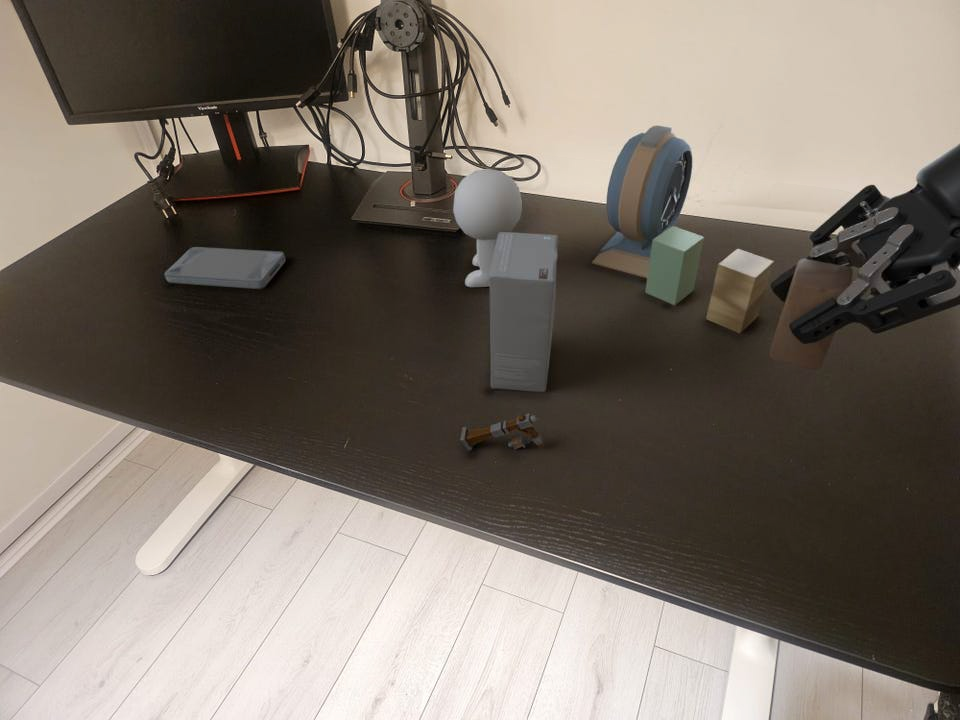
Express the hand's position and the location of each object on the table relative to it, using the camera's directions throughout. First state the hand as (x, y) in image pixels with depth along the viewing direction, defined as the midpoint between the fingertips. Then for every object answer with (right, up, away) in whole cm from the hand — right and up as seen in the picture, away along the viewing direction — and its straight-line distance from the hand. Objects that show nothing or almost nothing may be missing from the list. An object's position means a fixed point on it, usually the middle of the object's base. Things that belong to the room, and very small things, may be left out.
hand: (786, 313), depth 50 cm
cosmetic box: (-20, -5, +21) cm, 29 cm away
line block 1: (0, +5, +31) cm, 31 cm away
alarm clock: (-2, +12, +39) cm, 40 cm away
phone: (-63, +9, +42) cm, 76 cm away
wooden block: (+2, -3, +3) cm, 5 cm away
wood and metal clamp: (-23, -13, +13) cm, 29 cm away
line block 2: (+6, +1, +26) cm, 27 cm away
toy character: (-23, +8, +37) cm, 44 cm away
